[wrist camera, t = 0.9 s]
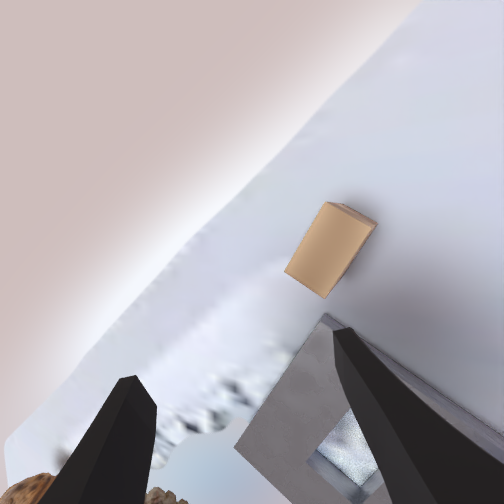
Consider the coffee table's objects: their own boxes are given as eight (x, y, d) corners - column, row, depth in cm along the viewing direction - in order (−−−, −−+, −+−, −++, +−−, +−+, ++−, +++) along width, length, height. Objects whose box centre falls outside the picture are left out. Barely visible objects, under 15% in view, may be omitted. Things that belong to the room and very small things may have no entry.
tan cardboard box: (377, 223, 23) (372, 228, 16) (342, 276, 24) (324, 299, 18) (343, 204, 24) (325, 201, 17) (311, 256, 25) (283, 271, 19)
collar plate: (526, 452, 20) (539, 476, 19) (388, 567, 26) (387, 594, 24) (325, 313, 25) (319, 321, 24) (242, 433, 30) (233, 447, 29)
